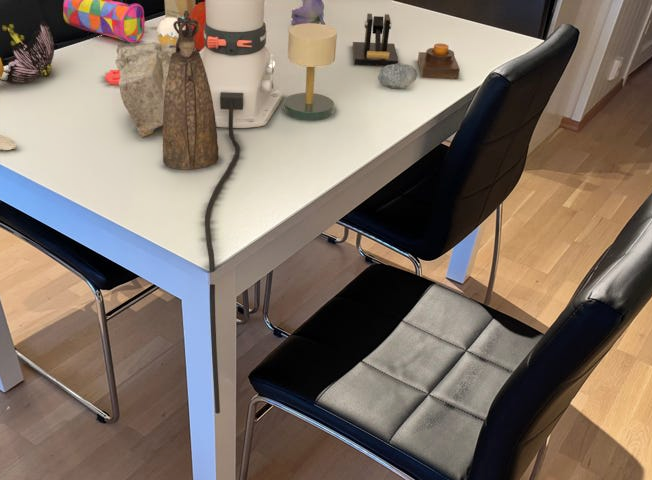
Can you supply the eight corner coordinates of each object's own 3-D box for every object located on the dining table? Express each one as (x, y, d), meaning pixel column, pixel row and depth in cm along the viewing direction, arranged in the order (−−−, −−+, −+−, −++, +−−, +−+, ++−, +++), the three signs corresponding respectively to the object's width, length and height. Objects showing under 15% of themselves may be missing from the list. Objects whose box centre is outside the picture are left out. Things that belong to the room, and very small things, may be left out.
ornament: (150, 42, 155) (157, 5, 154) (160, 51, 162) (166, 16, 161) (179, 48, 155) (186, 11, 153) (187, 57, 162) (193, 22, 160)
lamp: (333, 121, 133) (340, 40, 123) (282, 119, 133) (284, 38, 123) (333, 101, 141) (339, 23, 130) (284, 99, 141) (287, 21, 130)
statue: (188, 177, 115) (177, 17, 98) (158, 163, 118) (141, 6, 101) (224, 160, 120) (219, 5, 103) (194, 147, 123) (184, -5, 106)
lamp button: (448, 56, 152) (449, 48, 151) (433, 56, 152) (435, 47, 151) (446, 51, 155) (447, 43, 153) (432, 51, 155) (433, 43, 153)
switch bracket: (397, 66, 157) (403, 25, 151) (354, 64, 157) (357, 23, 151) (393, 49, 166) (398, 9, 160) (352, 47, 166) (356, 8, 160)
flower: (344, 3, 170) (311, -21, 169) (327, 26, 167) (293, 1, 166) (333, 28, 178) (301, 5, 178) (317, 50, 176) (284, 27, 175)
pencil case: (61, -20, 163) (90, -12, 170) (56, 22, 167) (85, 28, 174) (126, 0, 154) (153, 7, 162) (119, 44, 158) (147, 49, 165)
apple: (180, 52, 158) (176, 2, 151) (204, 39, 166) (202, -9, 158) (220, 61, 155) (218, 10, 148) (243, 47, 162) (243, -2, 155)
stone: (88, 44, 122) (127, 74, 114) (172, 30, 130) (214, 57, 122) (98, 115, 131) (134, 147, 123) (175, 98, 139) (215, 127, 131)
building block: (105, 86, 143) (106, 72, 148) (144, 85, 144) (144, 71, 150) (104, 82, 142) (106, 68, 148) (143, 81, 143) (143, 67, 149)
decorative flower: (71, 57, 137) (70, 36, 148) (20, 12, 130) (23, -6, 141) (27, 110, 141) (29, 86, 152) (-25, 69, 134) (-19, 47, 145)
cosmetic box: (166, 41, 165) (161, -16, 156) (175, 35, 168) (170, -20, 159) (189, 45, 163) (186, -12, 155) (198, 39, 166) (195, -16, 158)
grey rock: (416, 87, 148) (416, 62, 146) (418, 87, 145) (418, 61, 143) (377, 89, 149) (377, 65, 147) (378, 90, 146) (378, 64, 144)
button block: (457, 79, 152) (461, 60, 149) (422, 77, 152) (425, 58, 149) (451, 63, 160) (455, 45, 157) (417, 61, 160) (420, 43, 157)
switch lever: (388, 62, 154) (389, 53, 152) (366, 60, 154) (367, 52, 152) (388, 25, 158) (389, 16, 156) (366, 24, 158) (367, 15, 156)
